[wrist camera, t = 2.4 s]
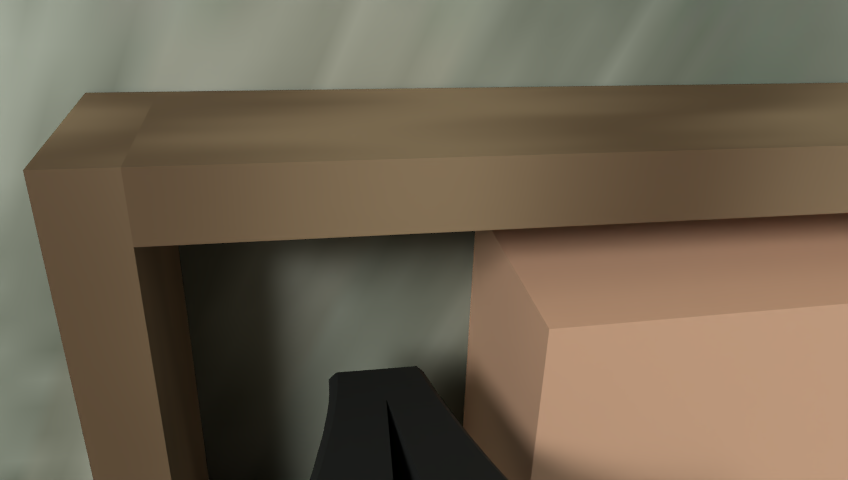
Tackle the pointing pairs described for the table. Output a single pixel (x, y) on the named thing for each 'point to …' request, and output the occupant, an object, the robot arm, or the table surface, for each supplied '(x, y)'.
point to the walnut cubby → (371, 201)
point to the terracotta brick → (662, 350)
